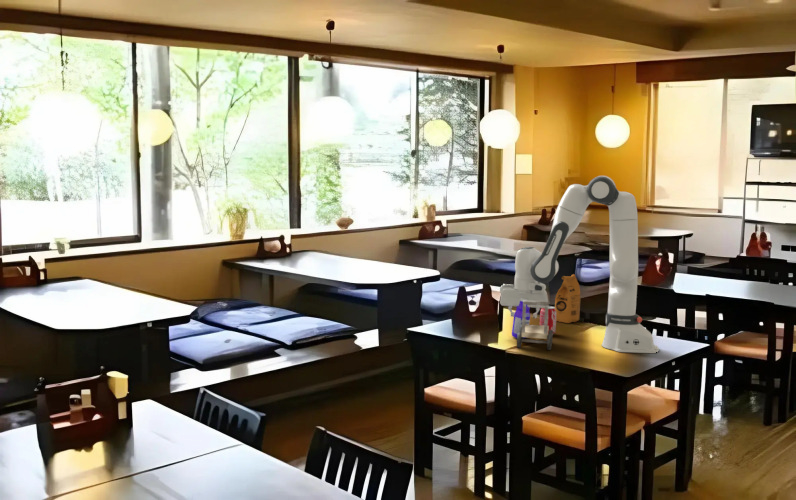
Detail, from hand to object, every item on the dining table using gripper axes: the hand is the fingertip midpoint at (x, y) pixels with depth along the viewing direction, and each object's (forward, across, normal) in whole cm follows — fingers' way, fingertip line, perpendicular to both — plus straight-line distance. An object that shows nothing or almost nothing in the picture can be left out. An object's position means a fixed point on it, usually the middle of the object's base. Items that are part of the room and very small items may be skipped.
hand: (523, 317), depth 336 cm
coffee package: (+10, +17, +46) cm, 50 cm away
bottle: (+9, -2, 0) cm, 9 cm away
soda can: (+10, +10, +12) cm, 18 cm away
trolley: (+9, +6, -12) cm, 17 cm away
